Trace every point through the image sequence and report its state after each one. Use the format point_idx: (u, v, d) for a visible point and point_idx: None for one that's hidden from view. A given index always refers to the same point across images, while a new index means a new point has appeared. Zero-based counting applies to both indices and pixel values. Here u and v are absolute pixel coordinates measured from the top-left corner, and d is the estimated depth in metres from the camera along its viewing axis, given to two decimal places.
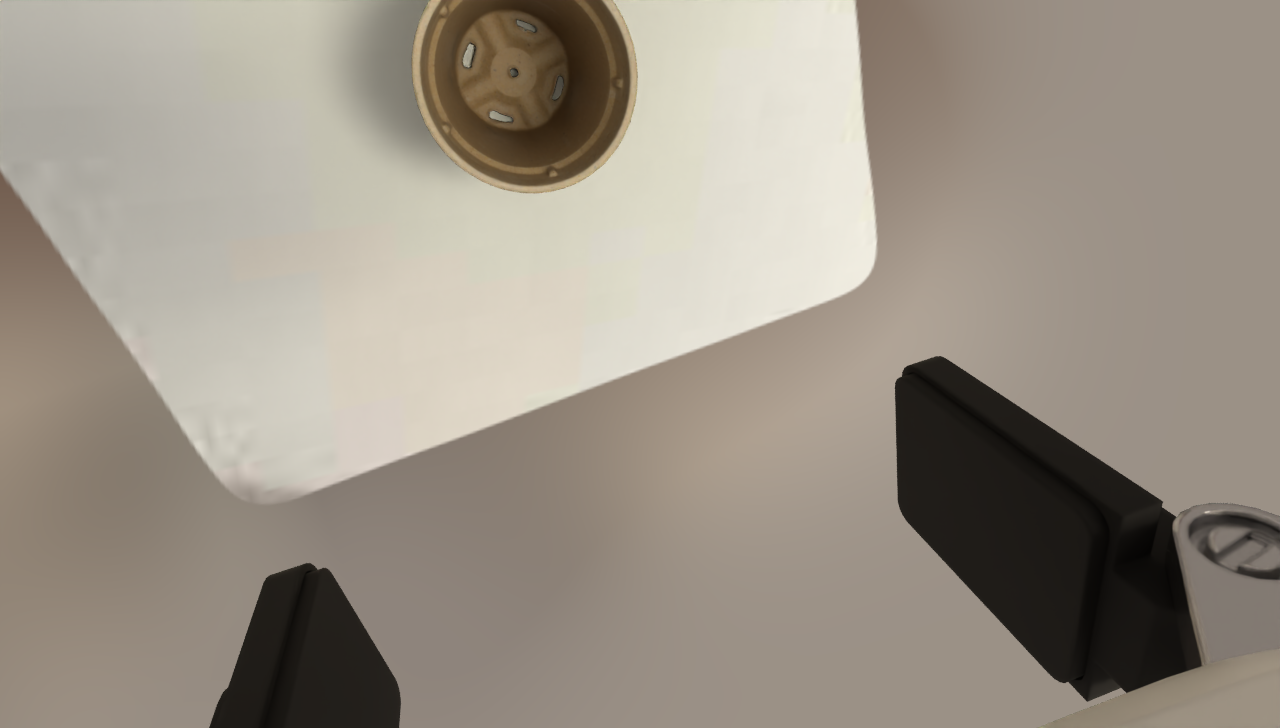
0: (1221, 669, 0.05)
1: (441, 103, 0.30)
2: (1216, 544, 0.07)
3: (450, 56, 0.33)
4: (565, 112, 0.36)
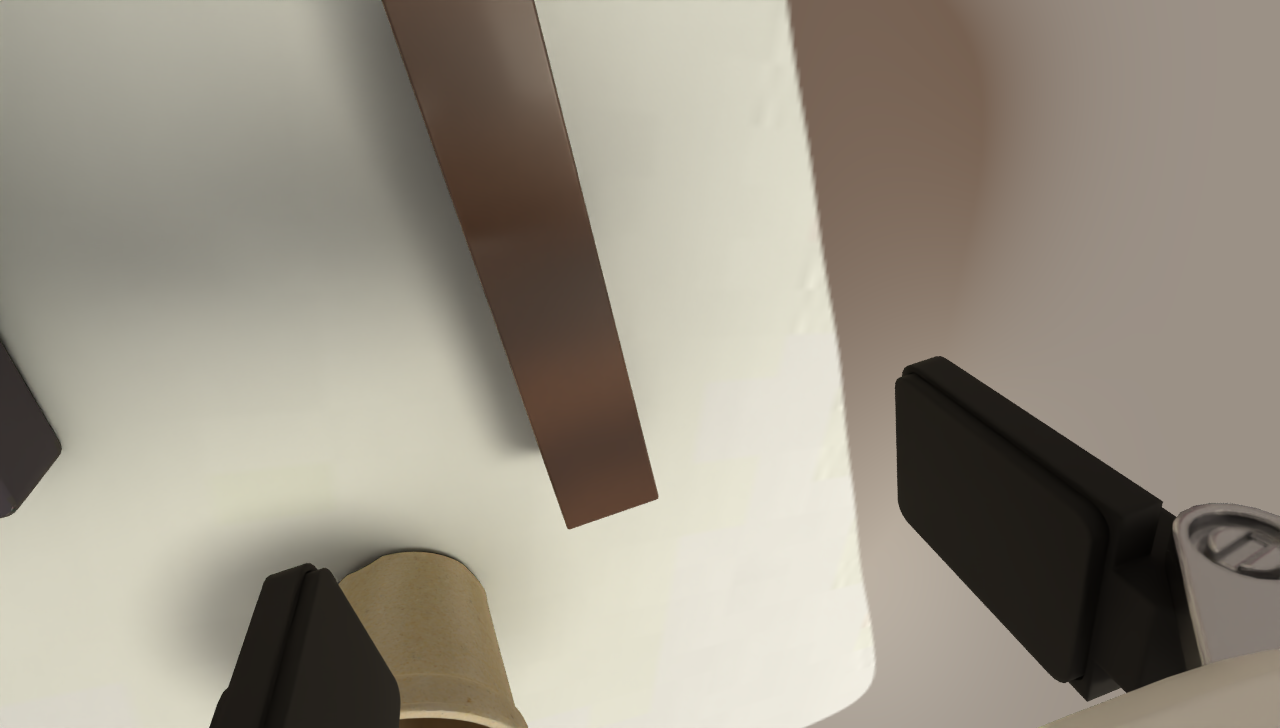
0: (1220, 668, 0.05)
1: None
2: (1216, 544, 0.07)
3: None
4: None
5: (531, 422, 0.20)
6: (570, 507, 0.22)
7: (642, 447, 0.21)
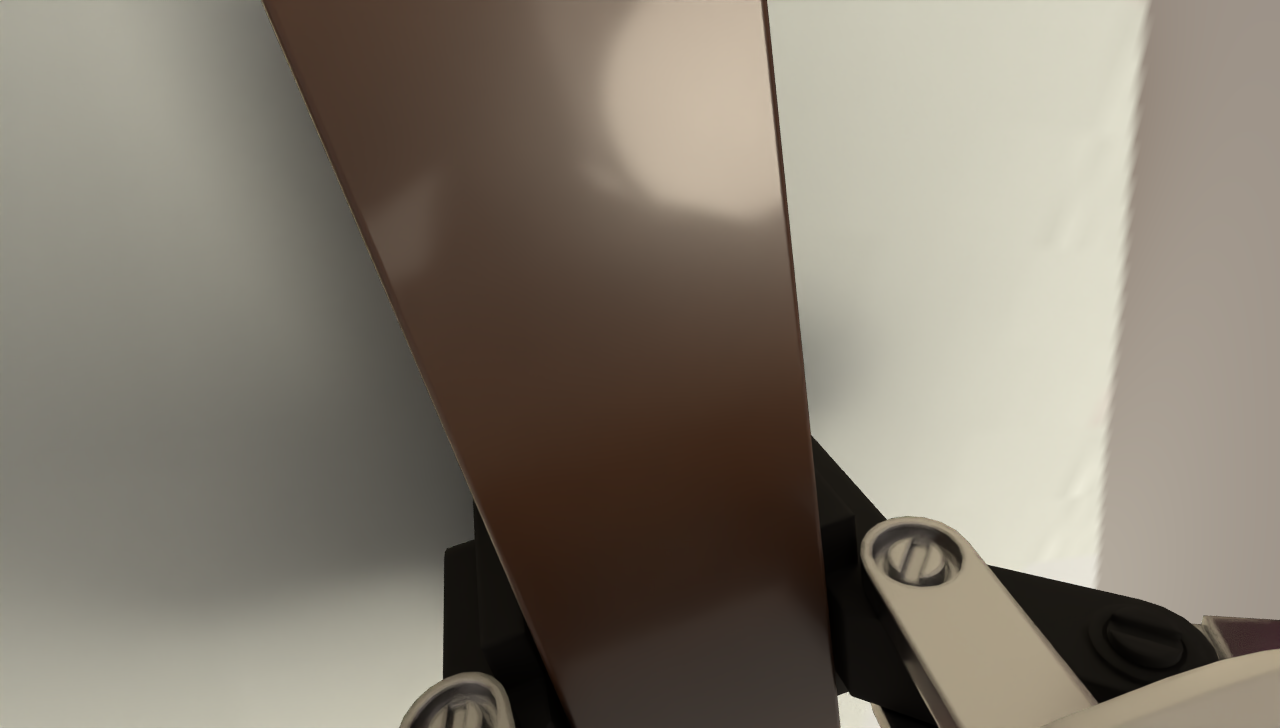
0: (1221, 669, 0.05)
1: None
2: (896, 563, 0.08)
3: None
4: None
5: None
6: None
7: None
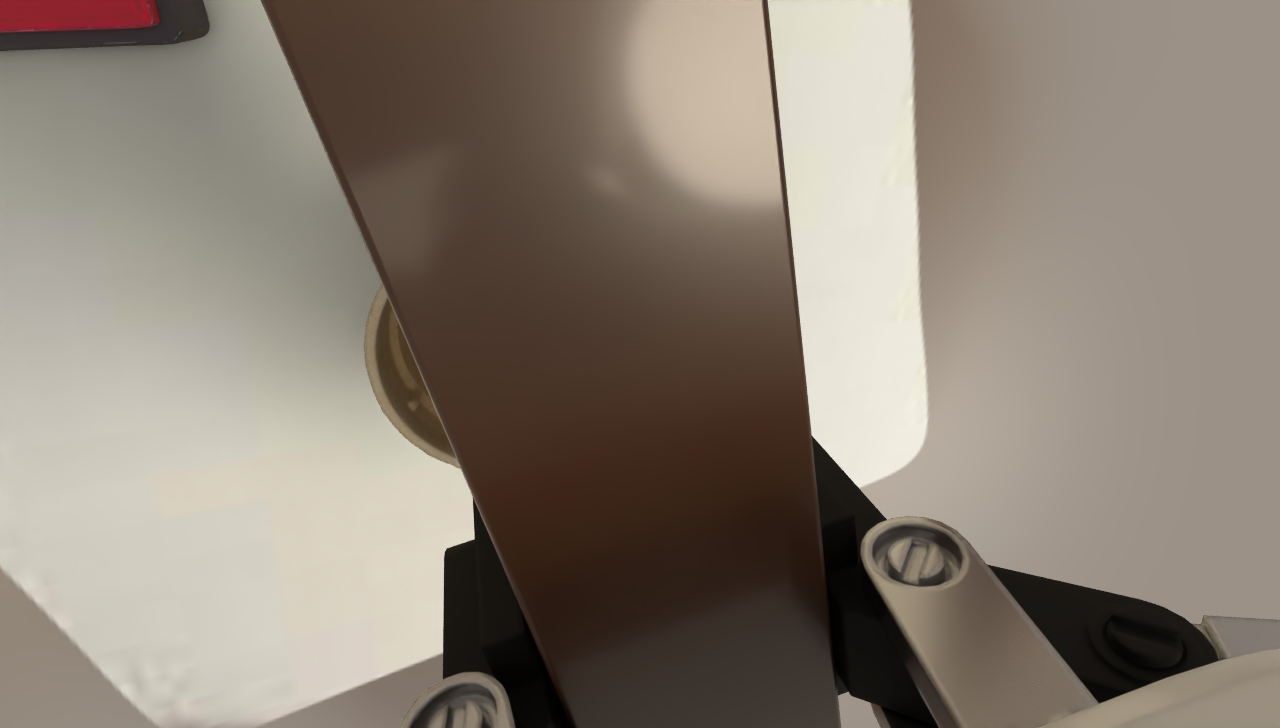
0: (1220, 670, 0.05)
1: (407, 366, 0.23)
2: (896, 563, 0.08)
3: None
4: None
5: None
6: None
7: None
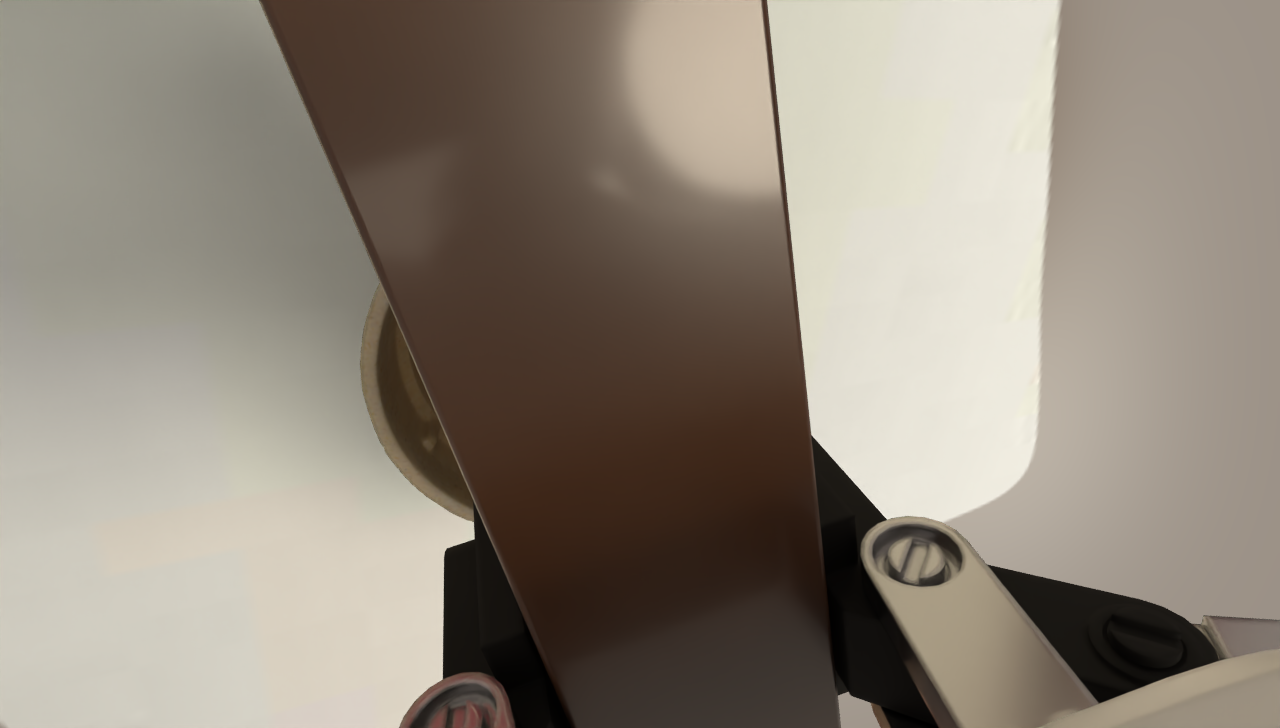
0: (1220, 669, 0.05)
1: (421, 388, 0.17)
2: (896, 563, 0.08)
3: None
4: None
5: None
6: None
7: None
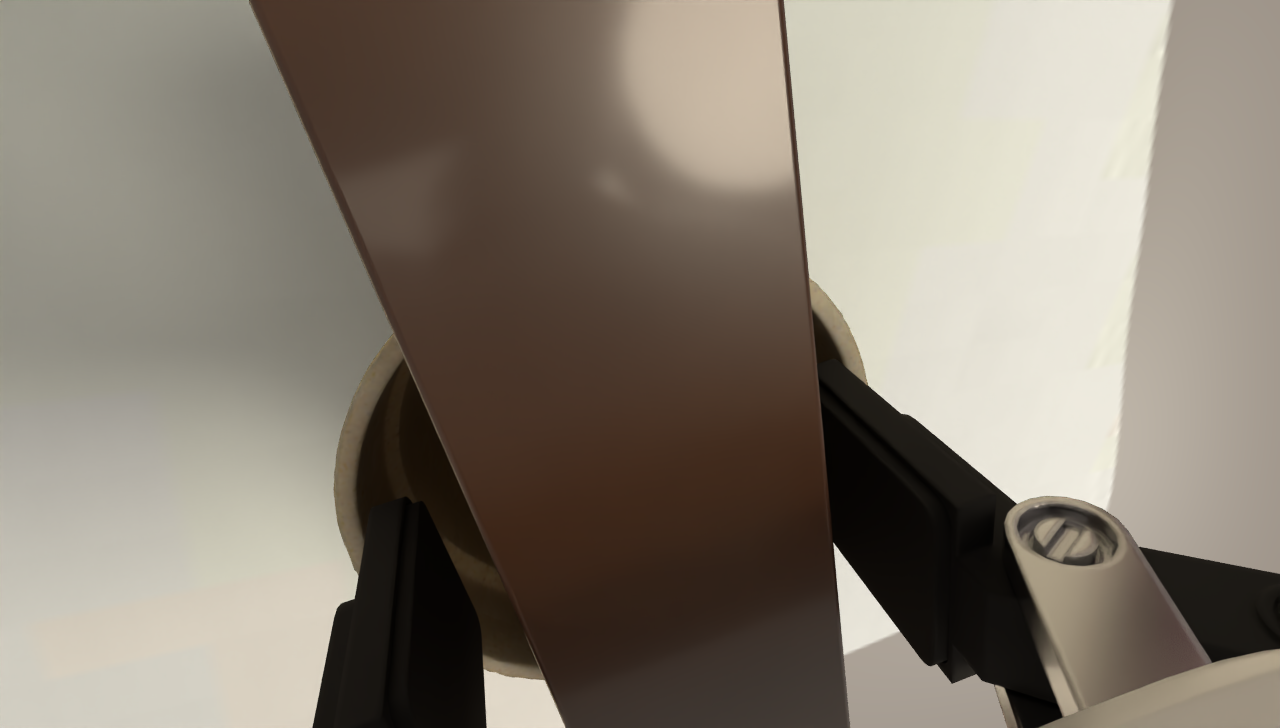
0: (1220, 669, 0.05)
1: (417, 496, 0.13)
2: (1042, 538, 0.07)
3: None
4: None
5: None
6: None
7: None
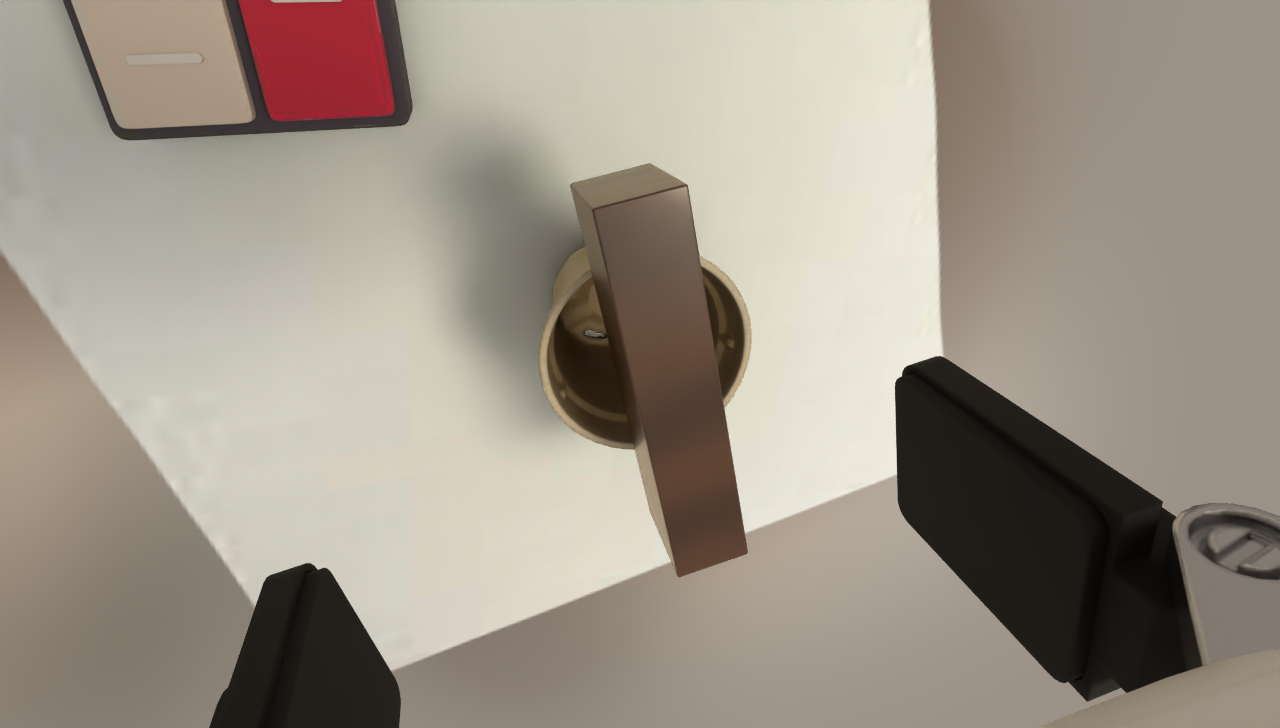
0: (1219, 668, 0.05)
1: (557, 365, 0.30)
2: (1216, 544, 0.07)
3: None
4: None
5: (659, 496, 0.26)
6: (681, 560, 0.28)
7: (739, 514, 0.28)
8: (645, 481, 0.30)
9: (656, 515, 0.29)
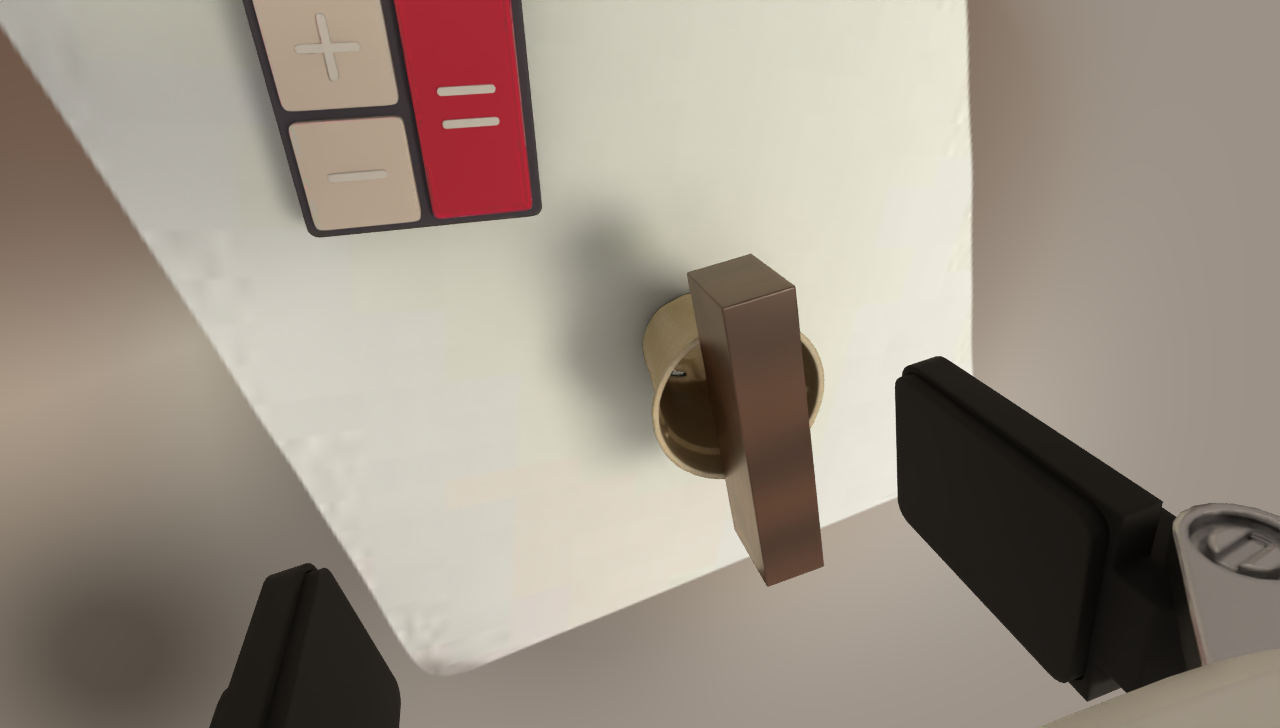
0: (1221, 669, 0.05)
1: (660, 409, 0.36)
2: (1216, 544, 0.07)
3: (651, 347, 0.39)
4: None
5: (757, 523, 0.32)
6: (771, 573, 0.34)
7: (819, 535, 0.34)
8: (735, 506, 0.36)
9: (746, 534, 0.35)
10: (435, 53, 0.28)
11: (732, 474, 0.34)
